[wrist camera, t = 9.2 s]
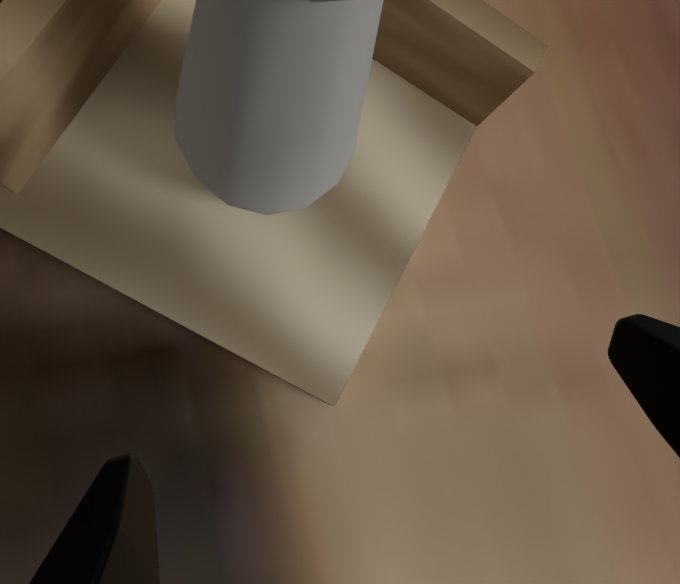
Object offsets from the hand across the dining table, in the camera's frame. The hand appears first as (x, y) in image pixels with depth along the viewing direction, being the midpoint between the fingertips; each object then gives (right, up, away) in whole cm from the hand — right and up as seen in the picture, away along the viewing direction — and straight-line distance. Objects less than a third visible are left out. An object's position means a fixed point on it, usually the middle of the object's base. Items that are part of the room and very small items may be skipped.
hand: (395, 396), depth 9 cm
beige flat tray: (-4, +7, +10) cm, 13 cm away
